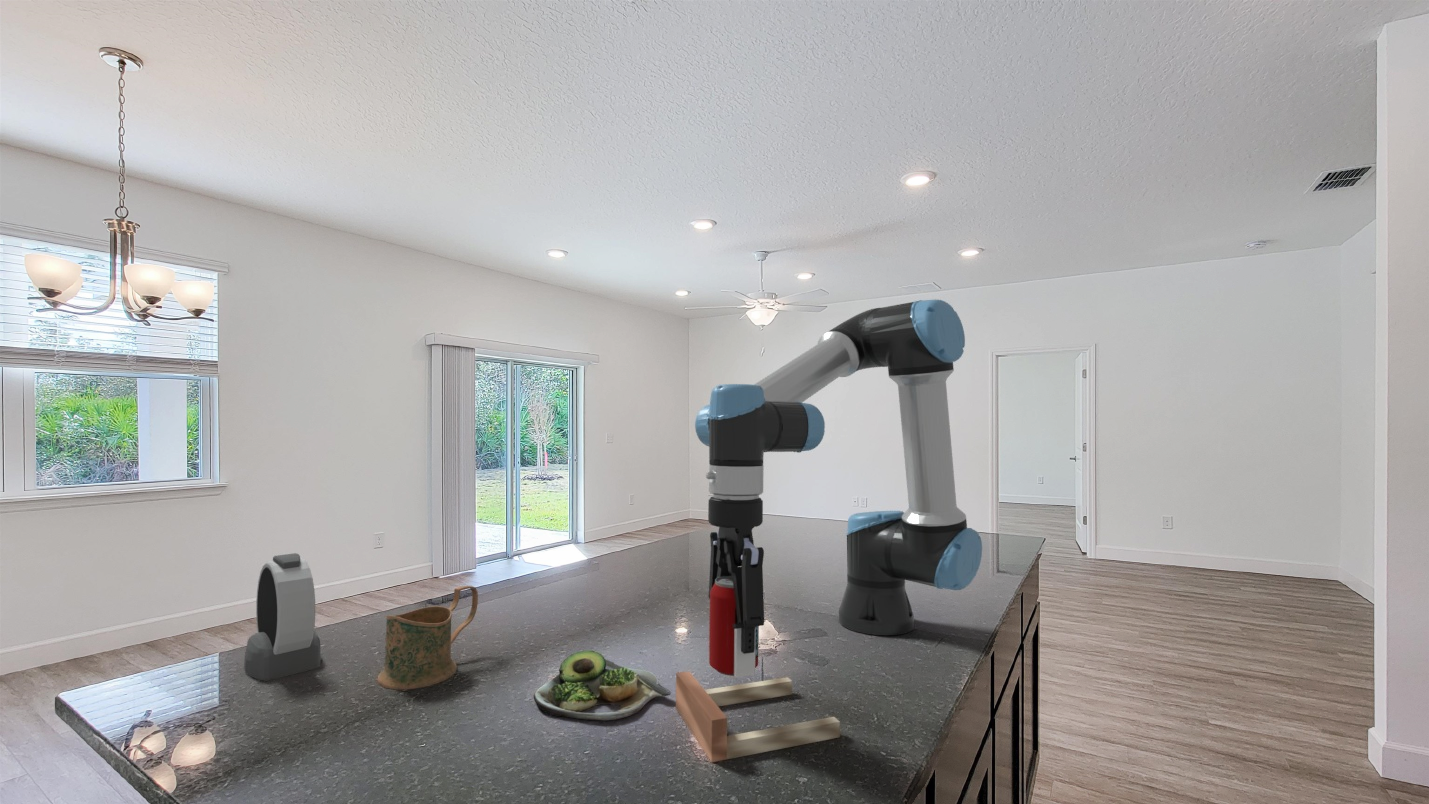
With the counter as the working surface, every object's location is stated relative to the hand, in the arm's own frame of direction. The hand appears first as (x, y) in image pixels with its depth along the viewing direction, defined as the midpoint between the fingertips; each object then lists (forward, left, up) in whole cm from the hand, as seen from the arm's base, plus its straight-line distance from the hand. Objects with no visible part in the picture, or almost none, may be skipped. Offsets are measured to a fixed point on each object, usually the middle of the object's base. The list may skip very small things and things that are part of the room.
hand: (733, 664), depth 83 cm
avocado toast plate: (+16, -16, -9) cm, 24 cm away
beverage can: (0, 0, -1) cm, 1 cm away
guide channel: (-3, 0, -8) cm, 9 cm away
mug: (+40, -35, -8) cm, 54 cm away
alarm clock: (+64, -45, -8) cm, 79 cm away
